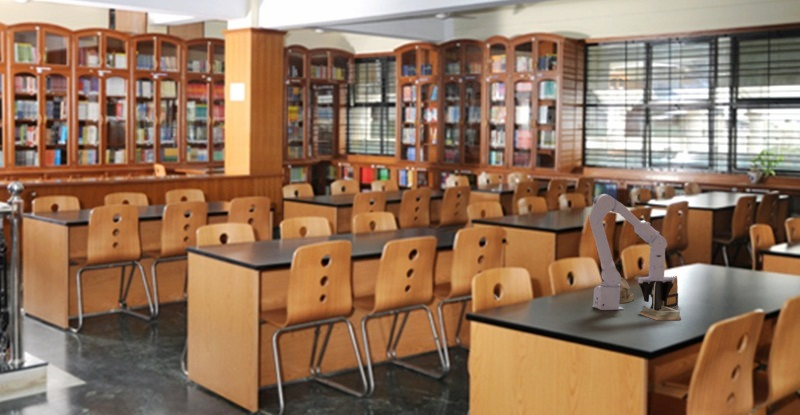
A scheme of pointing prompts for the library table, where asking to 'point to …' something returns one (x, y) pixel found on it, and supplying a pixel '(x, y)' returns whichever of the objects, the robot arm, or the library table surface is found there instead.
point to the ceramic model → (625, 292)
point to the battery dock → (661, 313)
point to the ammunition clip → (672, 295)
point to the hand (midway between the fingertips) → (655, 301)
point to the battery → (656, 294)
